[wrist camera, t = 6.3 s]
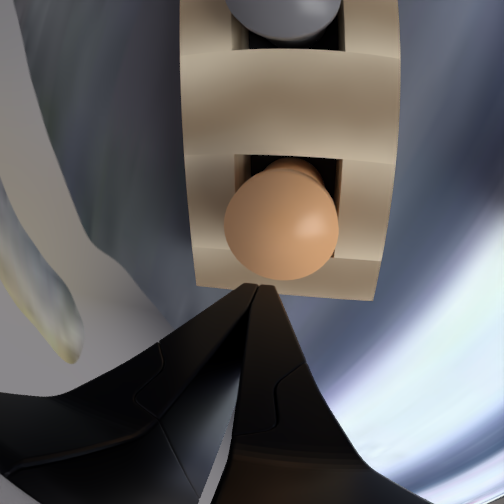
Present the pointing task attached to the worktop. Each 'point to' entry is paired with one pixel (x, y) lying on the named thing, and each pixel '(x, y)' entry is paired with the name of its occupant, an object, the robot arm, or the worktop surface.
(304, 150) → the housing
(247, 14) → the grey mushroom knob
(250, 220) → the mushroom knob terracotta
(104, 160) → the worktop surface
